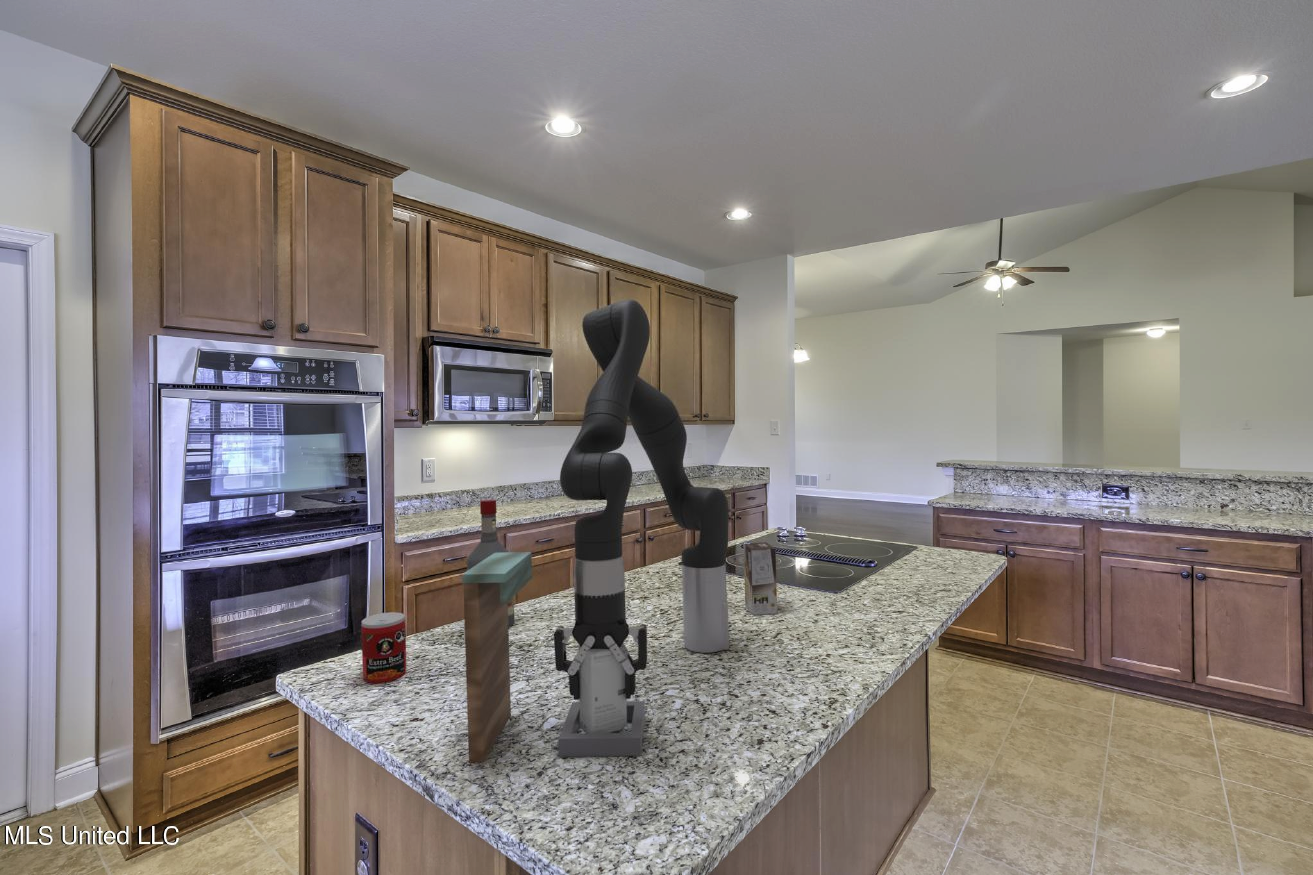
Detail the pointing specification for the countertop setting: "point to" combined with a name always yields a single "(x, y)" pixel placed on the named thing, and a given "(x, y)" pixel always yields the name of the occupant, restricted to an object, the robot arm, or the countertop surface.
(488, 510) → the liquor
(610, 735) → the socket
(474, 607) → the awning stand
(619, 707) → the skincare box
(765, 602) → the coffee box
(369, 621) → the canned food
